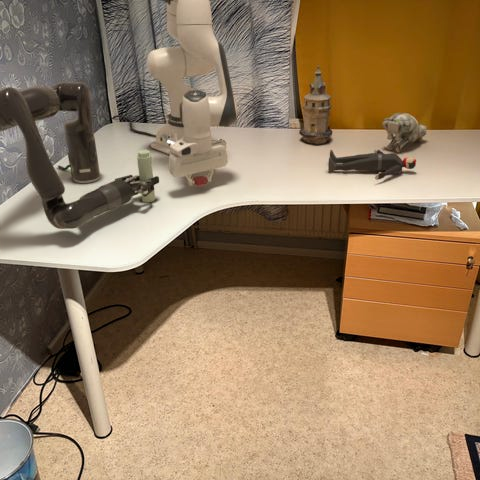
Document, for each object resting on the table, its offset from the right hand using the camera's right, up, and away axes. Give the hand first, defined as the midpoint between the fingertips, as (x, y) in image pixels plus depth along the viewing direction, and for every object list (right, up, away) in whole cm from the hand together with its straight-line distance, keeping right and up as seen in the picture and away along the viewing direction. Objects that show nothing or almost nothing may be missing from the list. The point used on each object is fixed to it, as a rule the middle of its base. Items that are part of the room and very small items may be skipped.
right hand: (200, 183), depth 178 cm
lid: (0, +1, -1) cm, 2 cm away
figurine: (+78, +18, +34) cm, 87 cm away
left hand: (-15, +1, -7) cm, 16 cm away
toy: (+60, +6, +13) cm, 62 cm away
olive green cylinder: (-16, -6, -6) cm, 18 cm away
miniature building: (+44, +22, +43) cm, 65 cm away
